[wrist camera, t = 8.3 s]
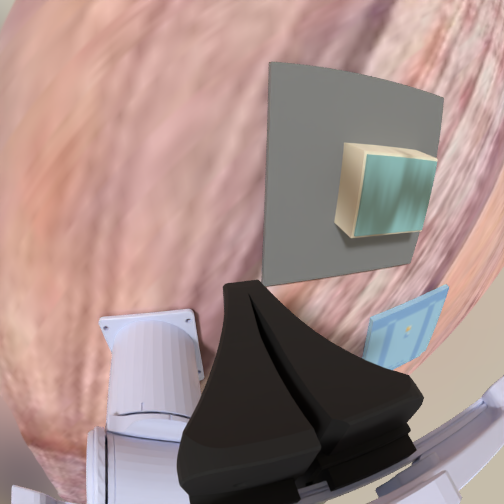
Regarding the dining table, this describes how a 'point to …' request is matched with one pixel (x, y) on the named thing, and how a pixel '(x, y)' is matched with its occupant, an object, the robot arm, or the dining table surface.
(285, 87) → the mat
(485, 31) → the dining table surface
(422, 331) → the folded blue cloth
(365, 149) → the beige and teal block
